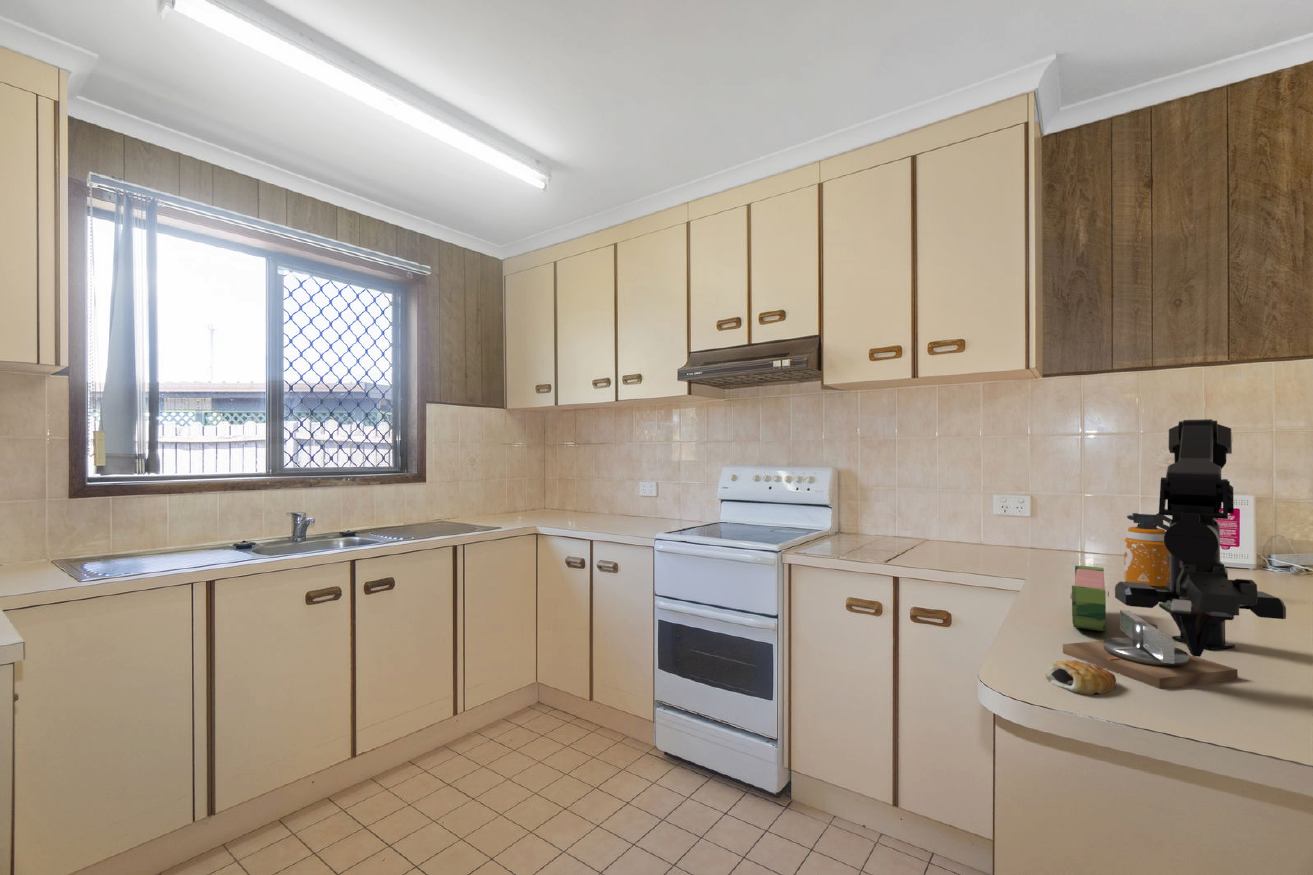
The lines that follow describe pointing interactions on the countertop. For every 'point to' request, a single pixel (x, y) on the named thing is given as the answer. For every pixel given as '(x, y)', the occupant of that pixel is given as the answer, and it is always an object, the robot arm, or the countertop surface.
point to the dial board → (1152, 667)
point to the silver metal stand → (1144, 643)
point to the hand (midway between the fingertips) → (1195, 655)
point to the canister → (1147, 551)
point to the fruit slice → (1089, 598)
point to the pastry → (1080, 677)
